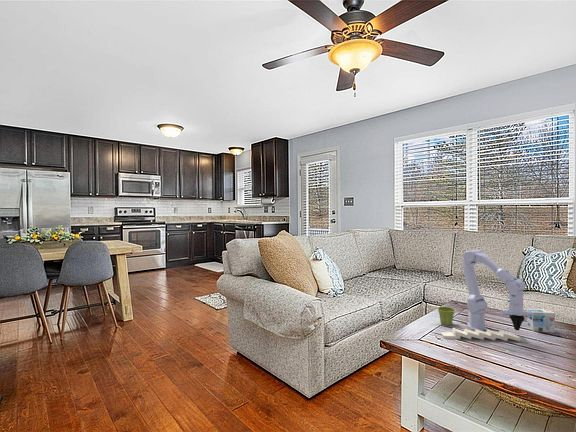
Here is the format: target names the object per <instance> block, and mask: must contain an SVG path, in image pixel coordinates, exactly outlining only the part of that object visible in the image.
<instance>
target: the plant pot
mask: <svg viewBox="0 0 576 432" xmlns="http://www.w3.org/2000/svg"><path fill="white" fill-rule="evenodd" d="M436 309H437V310H438V313H439V314H438V315H439V319H440V320H439V321H440V323H441V324H442V325H446V326H447V325H449V326H451V325H452V324H453V323H454V322H453V321H454V315H455V312H456V309H455V308H453V307H449V306H439V307H437V308H436Z"/></svg>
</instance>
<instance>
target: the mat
mask: <svg viewBox="0 0 576 432" xmlns="http://www.w3.org/2000/svg"><path fill="white" fill-rule="evenodd" d="M518 337H519V338H521V340H520V342H519V341H516V340H513V339H509V338H508V340H507V341H505V340H502V339H499V338H496V339H495V340H492V339H488V338H485V337H484V340H481V339H478V338H475V337H472V338H471V339H468V338H465V337H462V336H460V339H456V340H457V341H465V342H466V341H467V342H468V341H469V342H489V343H490V342H492V343H514V344H516V343H517V344H531V342H530V341H528V340H527V339H526V338H525V337H523V336H518Z"/></svg>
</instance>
